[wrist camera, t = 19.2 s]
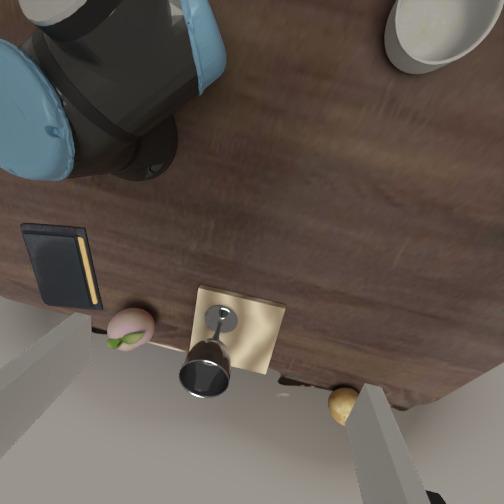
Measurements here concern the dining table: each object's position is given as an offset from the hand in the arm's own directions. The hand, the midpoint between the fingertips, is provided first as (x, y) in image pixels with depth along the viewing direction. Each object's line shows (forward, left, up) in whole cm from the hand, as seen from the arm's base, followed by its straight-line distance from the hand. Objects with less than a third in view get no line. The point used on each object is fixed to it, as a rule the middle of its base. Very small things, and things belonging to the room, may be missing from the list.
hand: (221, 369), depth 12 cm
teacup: (+15, +30, -37) cm, 50 cm away
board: (-1, -27, -37) cm, 46 cm away
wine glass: (-4, -24, -35) cm, 43 cm away
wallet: (-40, -22, -38) cm, 60 cm away
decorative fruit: (-22, -29, -37) cm, 52 cm away
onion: (+27, -38, -37) cm, 60 cm away
